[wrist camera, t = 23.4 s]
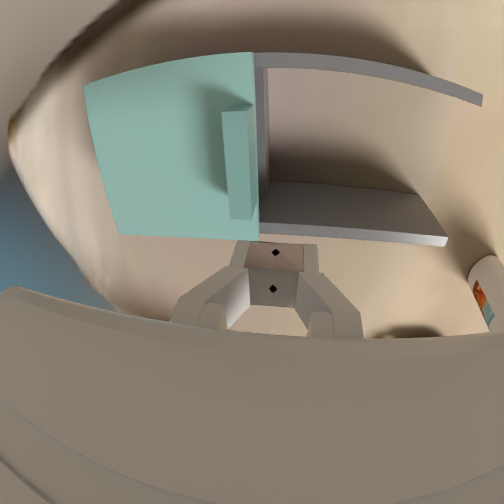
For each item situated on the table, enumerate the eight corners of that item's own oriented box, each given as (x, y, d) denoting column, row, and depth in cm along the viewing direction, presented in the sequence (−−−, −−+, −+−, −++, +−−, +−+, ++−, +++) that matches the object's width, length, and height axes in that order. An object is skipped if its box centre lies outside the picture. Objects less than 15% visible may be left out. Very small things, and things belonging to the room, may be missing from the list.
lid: (259, 234, 26) (253, 262, 23) (123, 229, 28) (105, 251, 25) (253, 52, 16) (243, 49, 13) (89, 83, 18) (60, 92, 15)
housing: (416, 202, 31) (444, 246, 23) (155, 189, 36) (120, 227, 28) (437, 82, 21) (482, 94, 13) (136, 74, 26) (87, 84, 18)
